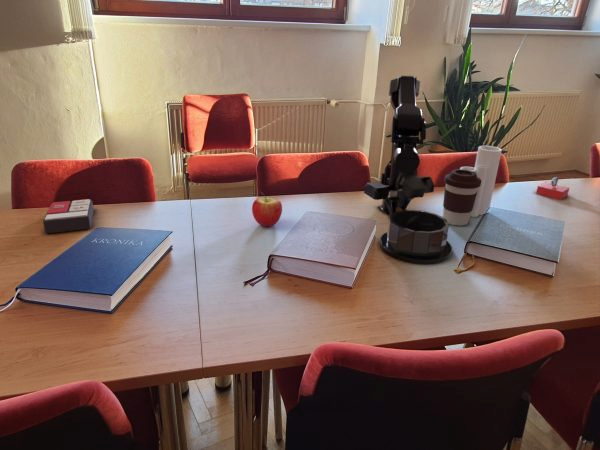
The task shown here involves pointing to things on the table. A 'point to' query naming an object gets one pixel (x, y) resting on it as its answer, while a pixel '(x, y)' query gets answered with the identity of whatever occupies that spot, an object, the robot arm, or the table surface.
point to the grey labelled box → (68, 216)
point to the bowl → (417, 232)
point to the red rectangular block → (553, 189)
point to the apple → (266, 211)
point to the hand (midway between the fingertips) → (396, 217)
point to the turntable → (415, 259)
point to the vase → (485, 177)
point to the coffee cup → (460, 196)
